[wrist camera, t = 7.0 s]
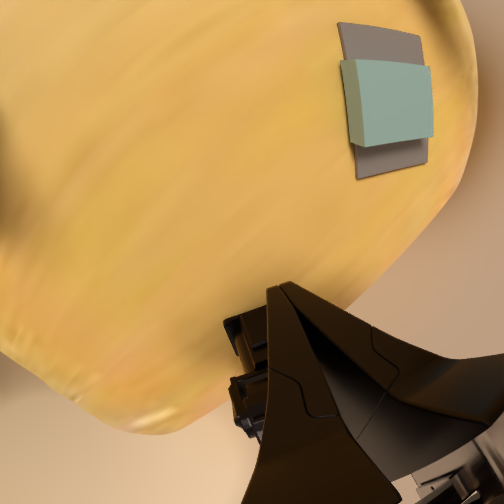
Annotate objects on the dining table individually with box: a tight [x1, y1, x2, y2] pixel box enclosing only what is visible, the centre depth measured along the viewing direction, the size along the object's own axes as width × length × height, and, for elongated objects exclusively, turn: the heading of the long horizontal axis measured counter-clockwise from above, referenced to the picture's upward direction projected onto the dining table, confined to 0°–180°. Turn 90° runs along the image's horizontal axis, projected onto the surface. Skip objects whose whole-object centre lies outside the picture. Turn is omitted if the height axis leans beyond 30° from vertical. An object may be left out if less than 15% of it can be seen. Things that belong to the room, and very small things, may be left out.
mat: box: [337, 22, 428, 179], centre depth 19 cm, size 14×10×1 cm
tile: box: [340, 59, 433, 147], centre depth 18 cm, size 7×2×9 cm
